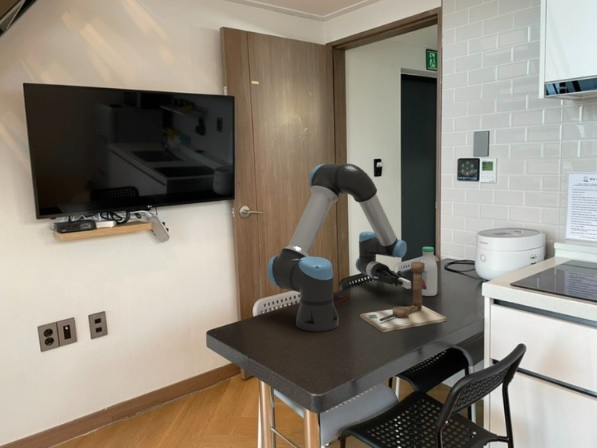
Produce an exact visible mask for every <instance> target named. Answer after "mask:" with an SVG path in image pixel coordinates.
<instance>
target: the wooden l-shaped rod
mask: <svg viewBox="0 0 597 448" xmlns="http://www.w3.org/2000/svg"><path fill="white" fill-rule="evenodd" d="M410 272H412V273H413V278H412V279H413V282H412V284H413V285H412V305H410V306H394V307H392V309H393V314H392V315H389V316H386V317H384V318H381V319H380V321H383V320H386V319H389V318H391V317H394V316H396V317H407V316H408V315H409V313H410V312H412V311H415V310H418V309H422V306H423V295H422V273H423V272H425V263H423V262H420V261H413V262H411V263H410ZM406 307H407V308H406Z"/></svg>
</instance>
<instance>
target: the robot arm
mask: <svg viewBox="0 0 597 448" xmlns="http://www.w3.org/2000/svg"><path fill="white" fill-rule="evenodd" d="M309 180H310V181H309V186H310V192H311V196H310V198H309V200H308V202H307V204H306V206H305V208H304V210H303V213H302V215H301V217H300V220H299V222H298V224H297V226H296V228H295V230H294V233H293V235H292V237H291V239H290V241H289V242H288V243H289V244H288V245H287V246H285V247H283V248H282V249H281V251H280V253H279V254H278V255H274V256H272V258H270V260H269V262H268V264H267V269H266V274H267V278H268V280H269V282H270V284H272V285H273V286H274V287H278V288H280V289H283V290H284V289H285V290H288V291H292V292H295V293H296V292H297V293H299V296H300V300H299V301H300V302H299V303H300V304H299V307H298V311H297V314H296V318H295V324H296V325H295V326H296V327H297V328H298V329H301V330H303V331H307V332H327V331H331V330H333V329H335V328H337V327H338V326H339V323H340V322H339V321H340V319H339V318H340V317H339V315H338V312H337V309H336V306H335V305H334V303H333V295H334V269H333V263H332V262H331V261H330V260H329V259H327V258H324V257H320V256H310V253H311V251H312V249H313V247H314V245H315V243H316V240H317V238H318V236H319V233H320V231H321V229H322V227H323V224H324V221H325V220H326V218H327V215H328V213H329V211H330V208H331V206H332V204H334V203H336V202H337V201H338V200H339V198H340V196H341V195H343V194H344V195H345V194H346V195H349V196H352V198H353V199H354V201H355V202H356V203H358V204H359V206H360V207H361V209H362V211H363V213H364V216H365V217H366V219H367V221H368V223H369V225H370V227H371V229H372V231H362V232H360V233H359V236H358V238H359V239H358V255H359V256H358V258H357V259H356V261H355V268H356V270H357V271H358V272H359V273H360V274H362V275H364V276H365V275H366V276H368V277H370V278H371V279H372V280H374V281H378V282H380V283H385V284H388V285H391V286H392V285H394V287H398V286H401V287H403V288H405V289H407V290H408V289H409V290H410V289H412V281H411V280H409V279H407V275H405V274H404V273H402V271H401V270H397V271H396V272H395V271H394V270H391V268H390V267H389V266H388V265H387V264H384V263H382V262H380V261H377V255H378V256H384V257H388V258H389V257H391V258H403V257H405V255H406V253H407V250H408V249H407V248H408V246H407V242H406V241H405V240H403V239H398V237H397V235H396V233H395V231H394V229H393V227H392V223H390V220H389V218H388V216H387V214H386V212H385V209H384V208H383V206H382V205H383V204H382V203H381V201H380V200H379V197H378V195H377V193H378V188H377V187H376V185H375V182H374V181H373V179H372V178H371V176H369V174H368V173H367V172H365V170H364V169H362V168H361V167H359V165H356V164H353V163H337V164H336V163H323V164H319V165H316V166H315V167H314V168H313V170H311V173H310V175H309Z"/></svg>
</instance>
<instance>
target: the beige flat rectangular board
mask: <svg viewBox="0 0 597 448" xmlns="http://www.w3.org/2000/svg"><path fill="white" fill-rule="evenodd" d="M405 307H406V308H407V307H408V306H405ZM392 314H393V308H391V309H385V310H377V311H371V312H366V313H360V315H359V316H360V318H361V319H362V320H363V321H365V322H367V323H368V324H370V325H371V326H372V327H373V328H375V329H377V330H378V331H380V332H381V333H387V332H391V331H397V330H403V329H409V328H415V327H421V326H426V325H434V324H439V323H444V321H445V322H448V317H446V316H445V315H443V314H441V313H438V312H436V311H434V310H432V309H431V308H428V307H426V306H424V305H422V309H418V310H415V311H412V312H410V313H409V315H408V316H407V317H396V316H394V317H391V318H389V319H386V320H383V321H380V319H381V318H384V317H386V316H389V315H392Z"/></svg>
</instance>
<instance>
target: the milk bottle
mask: <svg viewBox="0 0 597 448" xmlns="http://www.w3.org/2000/svg"><path fill="white" fill-rule="evenodd" d="M421 250H422V251H421V252H422V257H421V259H420V261H419V262H423V263H425V272H423V273H422V296H424V297H425V296H426V297H433V296H436V295H437V294H438V264H437V262H436V260H435V257H434V253H435V248H434V247H432V246H423V247H422V249H421Z"/></svg>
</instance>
